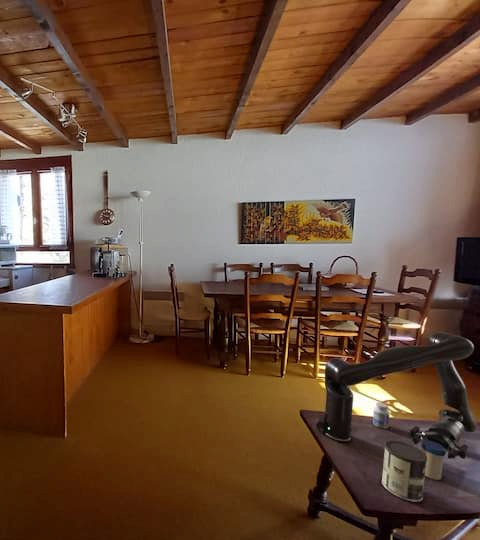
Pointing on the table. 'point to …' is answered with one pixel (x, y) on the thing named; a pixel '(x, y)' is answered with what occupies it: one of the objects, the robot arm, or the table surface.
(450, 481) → the table surface
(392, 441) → the coffee can
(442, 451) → the lid
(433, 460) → the jar
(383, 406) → the pill bottle
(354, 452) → the table surface
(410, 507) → the table surface
